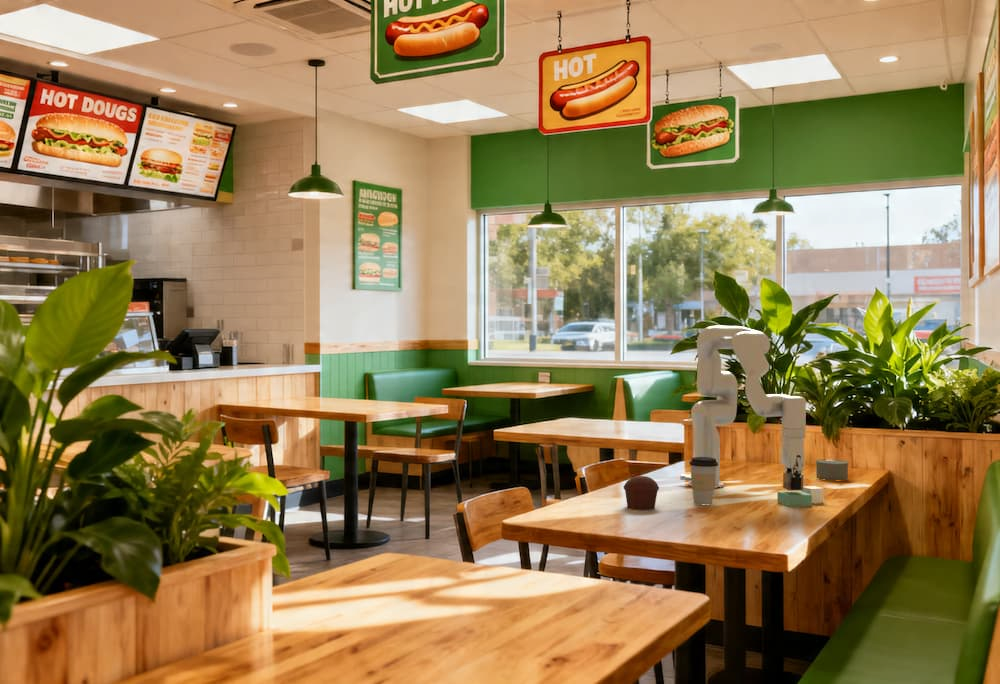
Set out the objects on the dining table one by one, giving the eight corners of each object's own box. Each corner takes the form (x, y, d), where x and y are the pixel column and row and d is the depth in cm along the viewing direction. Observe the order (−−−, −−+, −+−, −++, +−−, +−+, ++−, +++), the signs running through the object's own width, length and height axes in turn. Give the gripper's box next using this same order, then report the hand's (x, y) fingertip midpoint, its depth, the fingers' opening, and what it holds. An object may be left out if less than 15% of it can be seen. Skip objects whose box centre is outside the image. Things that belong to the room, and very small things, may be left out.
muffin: (638, 512, 296) (638, 480, 296) (615, 506, 305) (616, 475, 305) (666, 508, 302) (666, 477, 302) (643, 503, 312) (644, 473, 311)
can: (819, 480, 362) (819, 463, 362) (812, 476, 374) (813, 459, 374) (851, 481, 360) (851, 464, 360) (844, 477, 372) (844, 459, 372)
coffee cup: (686, 505, 308) (687, 459, 308) (691, 500, 317) (691, 456, 317) (715, 507, 305) (716, 461, 305) (719, 502, 314) (720, 457, 314)
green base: (789, 507, 307) (789, 495, 307) (777, 503, 315) (777, 491, 315) (811, 507, 309) (811, 494, 309) (799, 502, 316) (799, 490, 316)
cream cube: (810, 503, 313) (810, 488, 313) (801, 501, 318) (801, 486, 318) (823, 503, 315) (823, 488, 315) (814, 500, 319) (814, 485, 319)
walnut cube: (788, 490, 310) (788, 475, 309) (783, 487, 315) (783, 472, 314) (803, 490, 310) (803, 475, 310) (797, 487, 315) (798, 472, 315)
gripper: (774, 430, 320) (773, 483, 320) (791, 436, 303) (790, 492, 303) (796, 430, 320) (795, 483, 321) (814, 436, 303) (813, 492, 304)
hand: (793, 487), depth 312 cm, fingers closed on walnut cube, 5 cm apart
